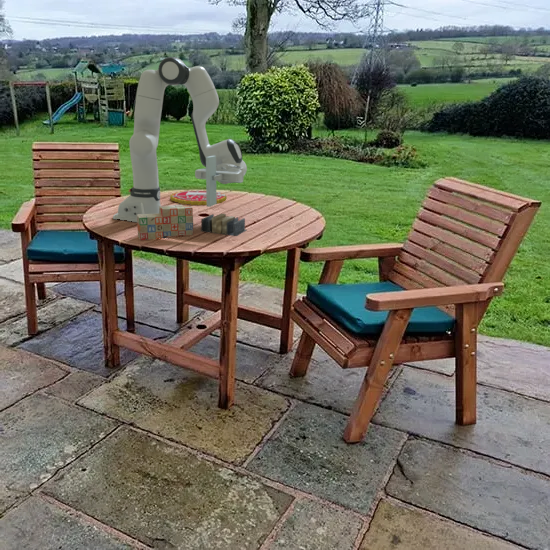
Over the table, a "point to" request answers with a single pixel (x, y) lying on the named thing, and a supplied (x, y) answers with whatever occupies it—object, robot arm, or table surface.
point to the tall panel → (211, 181)
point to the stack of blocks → (166, 222)
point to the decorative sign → (195, 197)
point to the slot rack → (232, 226)
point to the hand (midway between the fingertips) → (210, 177)
